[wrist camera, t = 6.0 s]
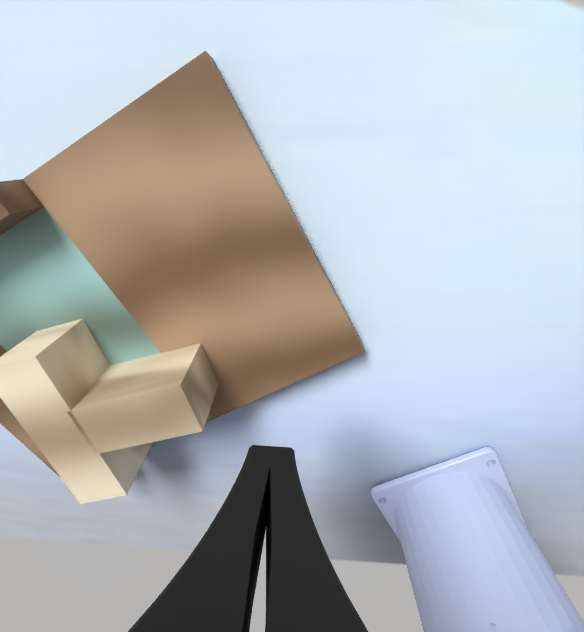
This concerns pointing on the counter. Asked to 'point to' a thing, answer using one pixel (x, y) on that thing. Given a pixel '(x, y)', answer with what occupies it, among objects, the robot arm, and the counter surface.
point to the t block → (102, 405)
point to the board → (170, 248)
